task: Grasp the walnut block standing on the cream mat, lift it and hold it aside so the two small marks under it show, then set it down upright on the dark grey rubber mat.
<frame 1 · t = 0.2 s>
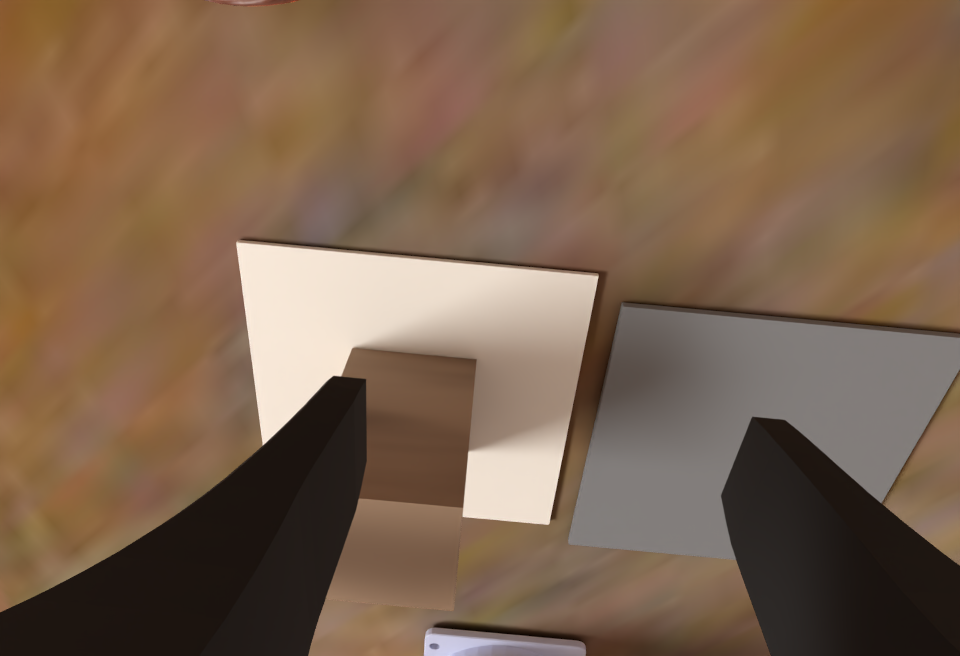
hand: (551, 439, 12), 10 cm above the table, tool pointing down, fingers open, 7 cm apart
grey mat: (744, 449, 25), on the table
walnut block: (412, 402, 24), resting on cream mat
cream mat: (413, 398, 24), on the table
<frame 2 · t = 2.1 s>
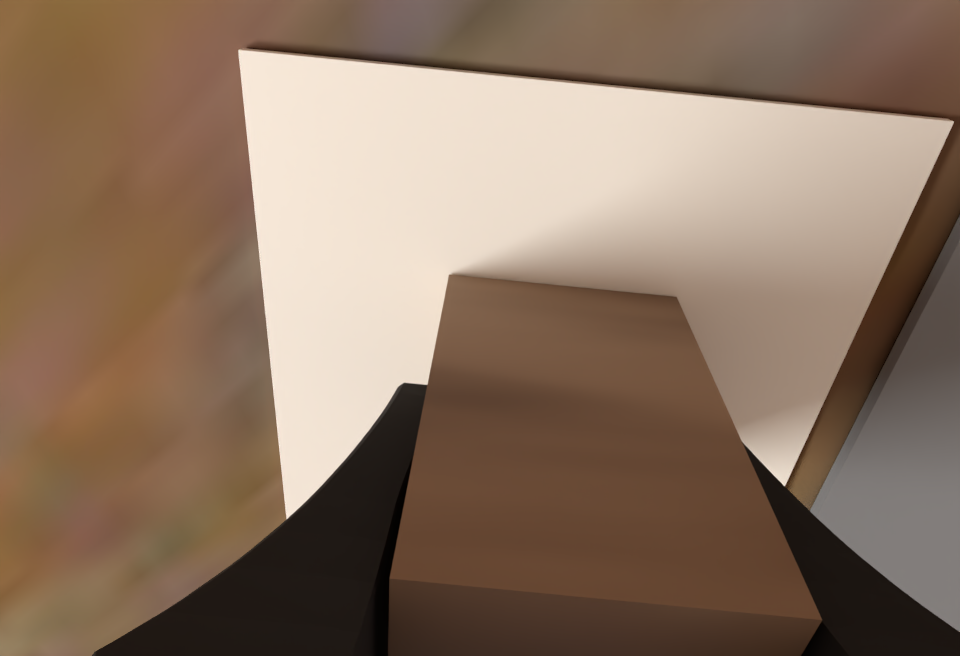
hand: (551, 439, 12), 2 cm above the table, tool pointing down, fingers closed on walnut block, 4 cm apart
walnut block: (546, 378, 14), resting on cream mat, touching gripper
cream mat: (546, 371, 14), on the table
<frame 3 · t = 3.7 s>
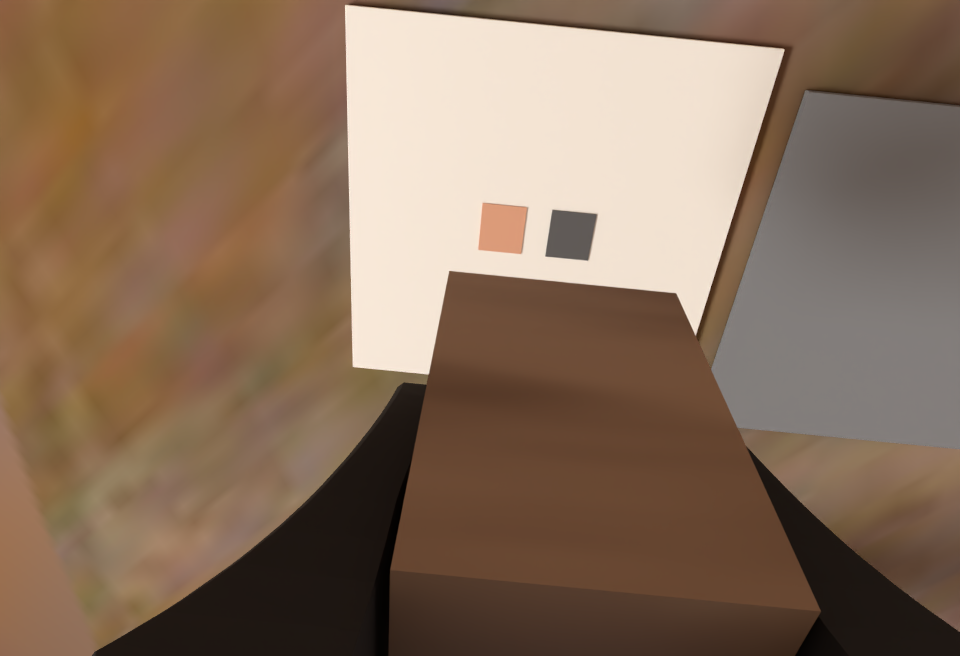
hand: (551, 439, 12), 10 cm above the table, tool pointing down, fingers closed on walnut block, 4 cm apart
grey mat: (921, 296, 21), on the table
walnut block: (546, 374, 14), point 8 cm above the table, touching gripper
cream mat: (536, 229, 21), on the table
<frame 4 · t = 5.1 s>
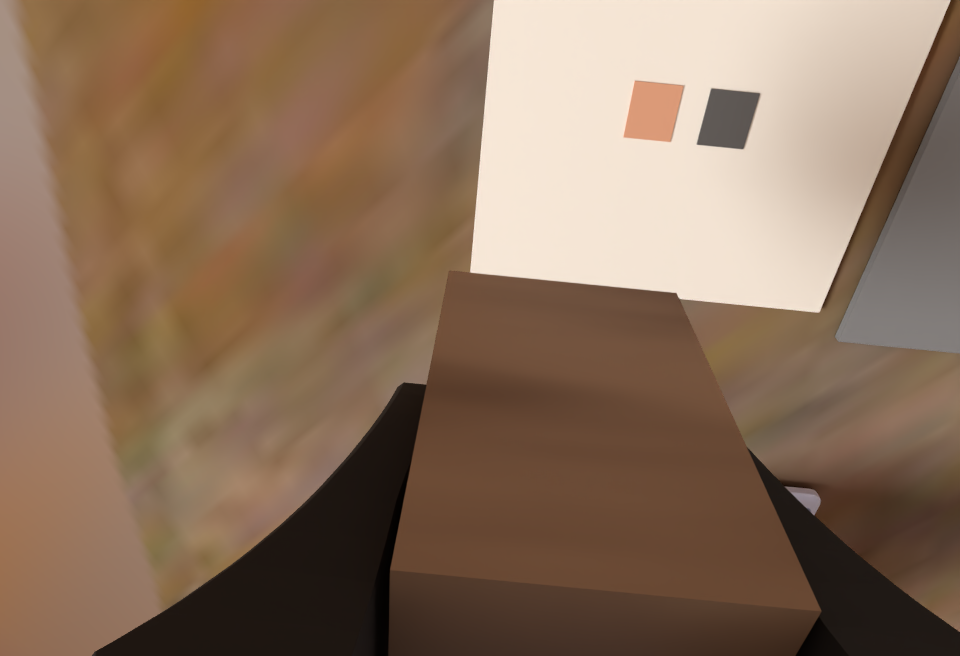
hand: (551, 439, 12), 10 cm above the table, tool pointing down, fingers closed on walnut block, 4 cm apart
walnut block: (546, 374, 14), point 8 cm above the table, touching gripper
cream mat: (688, 114, 19), on the table
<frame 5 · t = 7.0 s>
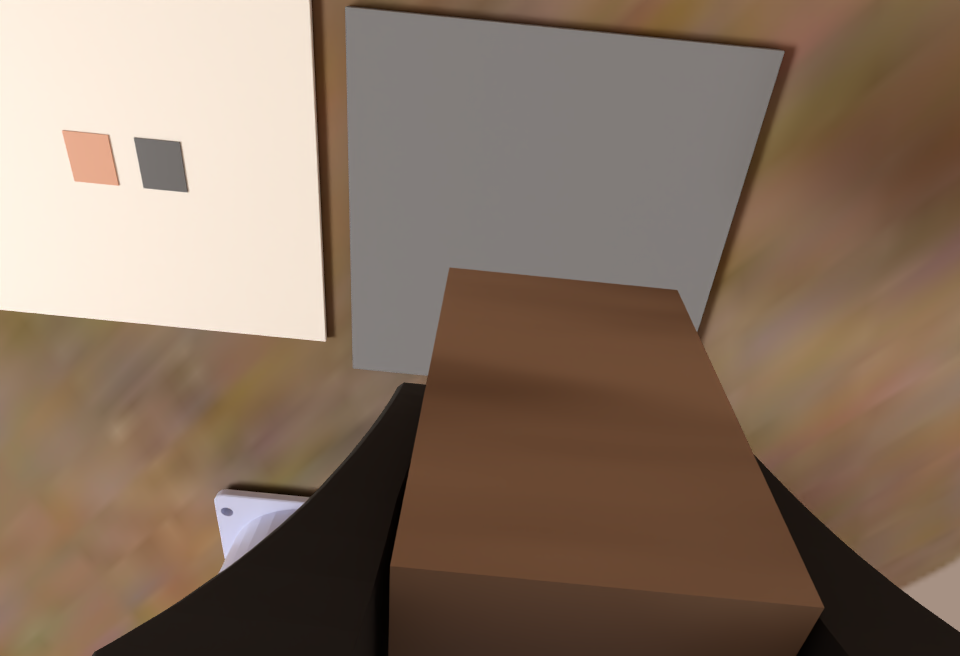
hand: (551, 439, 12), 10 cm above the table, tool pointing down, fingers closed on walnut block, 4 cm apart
grey mat: (535, 230, 21), on the table
walnut block: (547, 371, 14), point 8 cm above the table, touching gripper
cream mat: (129, 159, 20), on the table
when the fingers open (4 cm above the table, at t = 8.6 s): walnut block drops 1 cm, resting on grey mat.
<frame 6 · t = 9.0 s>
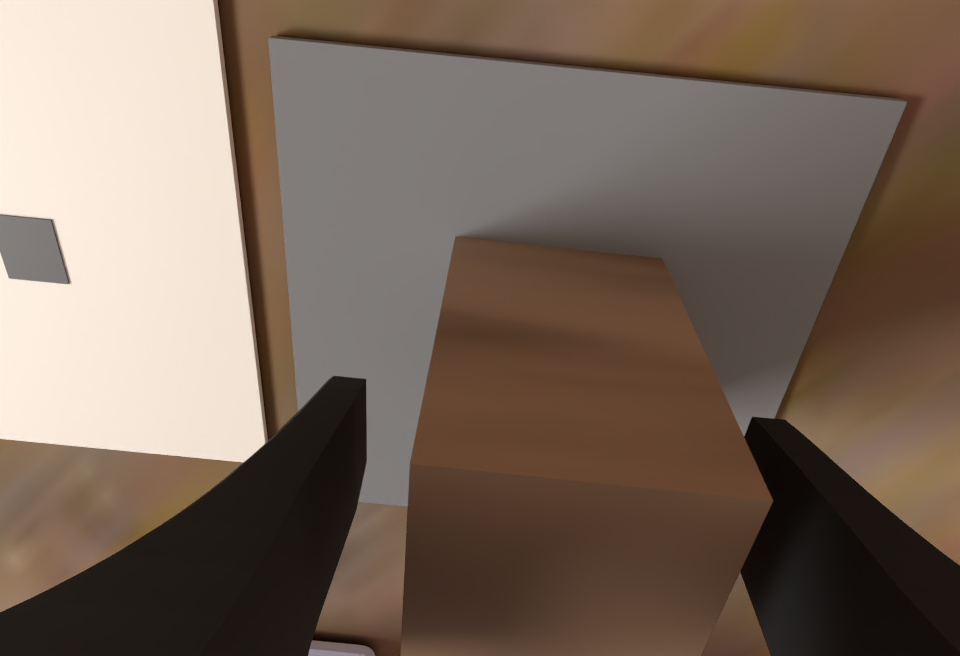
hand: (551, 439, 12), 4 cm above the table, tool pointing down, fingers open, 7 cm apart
grey mat: (543, 333, 15), on the table
walnut block: (543, 335, 15), resting on grey mat
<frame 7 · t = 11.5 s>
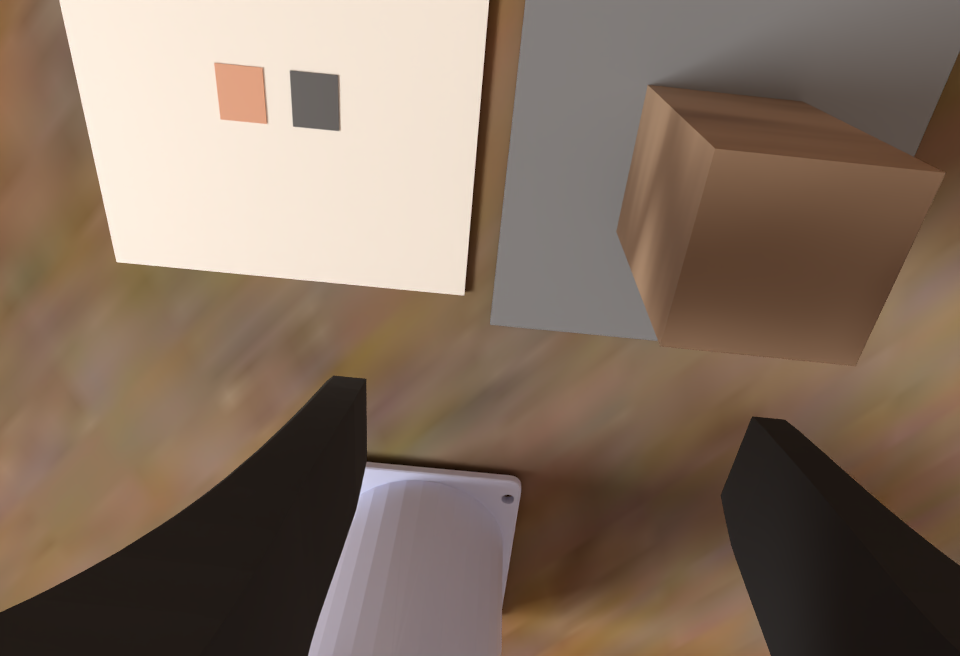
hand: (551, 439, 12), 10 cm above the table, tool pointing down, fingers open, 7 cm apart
grey mat: (701, 171, 20), on the table
walnut block: (704, 170, 20), resting on grey mat
cream mat: (280, 96, 19), on the table
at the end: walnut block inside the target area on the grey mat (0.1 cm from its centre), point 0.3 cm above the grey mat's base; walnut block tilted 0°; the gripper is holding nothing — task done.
